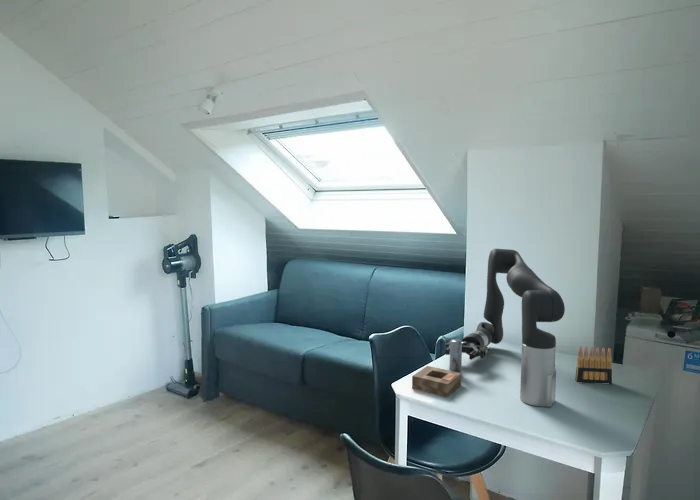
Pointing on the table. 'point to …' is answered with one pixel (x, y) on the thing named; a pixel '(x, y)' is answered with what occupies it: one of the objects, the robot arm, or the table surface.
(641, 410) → the table surface
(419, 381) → the block
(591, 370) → the ammunition clip
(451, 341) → the barrel peg
